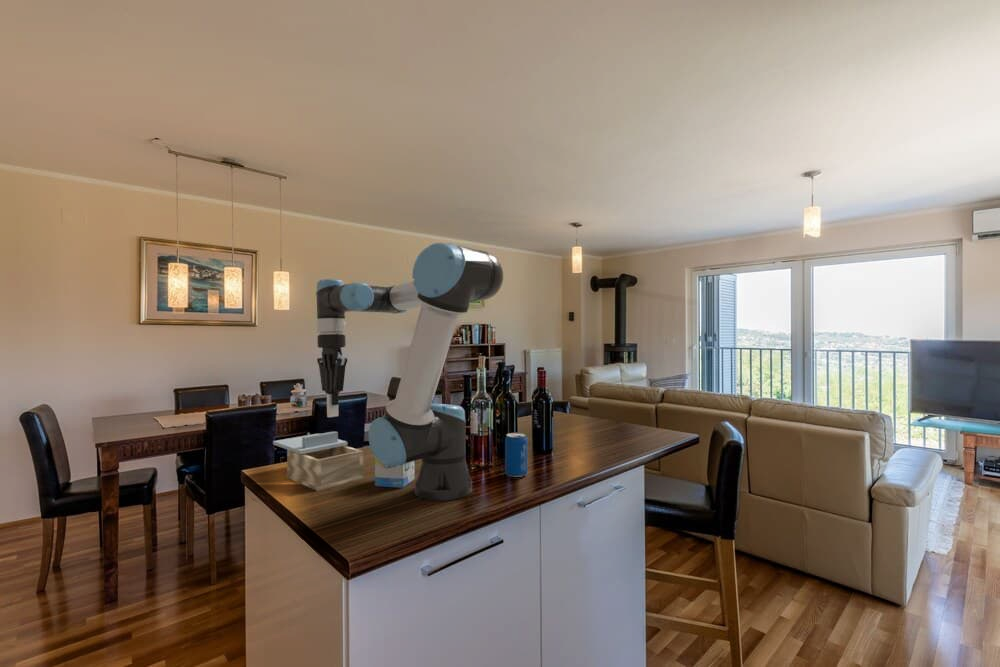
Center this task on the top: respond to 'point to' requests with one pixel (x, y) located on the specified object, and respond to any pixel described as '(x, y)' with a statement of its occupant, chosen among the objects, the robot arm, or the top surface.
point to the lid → (311, 442)
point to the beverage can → (516, 454)
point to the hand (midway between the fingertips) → (332, 416)
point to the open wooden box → (325, 467)
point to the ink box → (393, 474)
